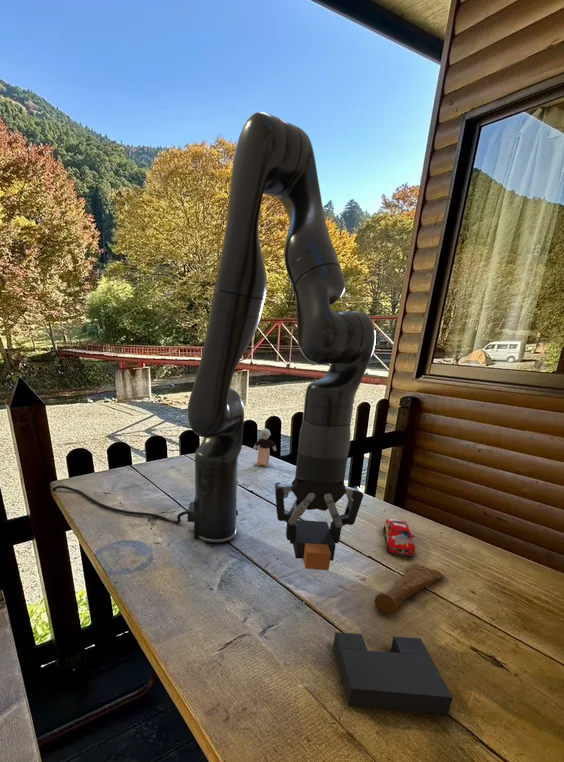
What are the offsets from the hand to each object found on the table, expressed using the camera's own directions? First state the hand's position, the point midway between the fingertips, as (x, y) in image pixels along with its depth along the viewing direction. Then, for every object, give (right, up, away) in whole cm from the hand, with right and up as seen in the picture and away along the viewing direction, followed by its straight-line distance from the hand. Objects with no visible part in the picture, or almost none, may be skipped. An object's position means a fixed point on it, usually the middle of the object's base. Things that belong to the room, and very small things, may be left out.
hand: (311, 542), depth 70 cm
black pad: (+6, -17, -14) cm, 22 cm away
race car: (+25, -4, +20) cm, 32 cm away
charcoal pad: (0, -1, -1) cm, 2 cm away
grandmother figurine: (+4, +15, +69) cm, 70 cm away
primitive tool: (+19, -10, +5) cm, 21 cm away
